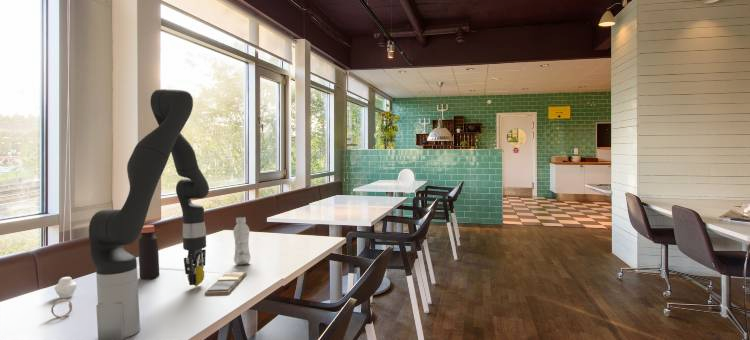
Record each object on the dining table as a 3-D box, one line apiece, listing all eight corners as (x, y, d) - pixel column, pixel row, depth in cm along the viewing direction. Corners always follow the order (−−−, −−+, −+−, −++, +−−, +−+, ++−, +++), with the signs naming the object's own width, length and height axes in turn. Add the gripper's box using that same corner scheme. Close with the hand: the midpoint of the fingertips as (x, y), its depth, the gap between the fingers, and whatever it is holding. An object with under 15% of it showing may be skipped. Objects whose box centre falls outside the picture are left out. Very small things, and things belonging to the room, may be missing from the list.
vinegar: (135, 279, 160) (132, 227, 159) (149, 274, 167) (146, 224, 166) (150, 280, 158) (147, 228, 157) (163, 274, 165) (161, 224, 164)
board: (228, 294, 140) (228, 290, 140) (204, 295, 140) (204, 291, 139) (246, 275, 162) (246, 271, 162) (225, 275, 162) (225, 271, 161)
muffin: (51, 300, 138) (50, 280, 138) (60, 294, 144) (58, 274, 144) (73, 298, 140) (71, 278, 139) (80, 292, 146) (79, 273, 145)
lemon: (198, 289, 145) (197, 266, 144) (184, 288, 146) (183, 265, 146) (208, 284, 150) (207, 262, 150) (194, 283, 151) (193, 261, 151)
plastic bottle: (233, 263, 179) (231, 217, 178) (249, 261, 182) (247, 216, 181) (235, 267, 173) (233, 219, 172) (251, 265, 176) (250, 218, 175)
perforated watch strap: (72, 315, 125) (71, 298, 125) (53, 320, 122) (51, 303, 121) (70, 313, 127) (69, 296, 127) (51, 317, 123) (49, 301, 123)
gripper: (197, 238, 140) (199, 288, 141) (212, 230, 155) (214, 275, 155) (174, 239, 140) (176, 289, 141) (191, 231, 154) (193, 276, 155)
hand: (196, 281), depth 148 cm, fingers closed on lemon, 5 cm apart
